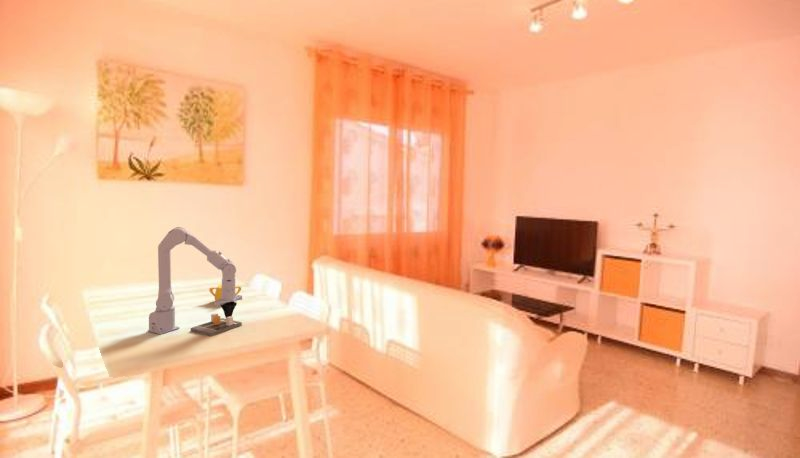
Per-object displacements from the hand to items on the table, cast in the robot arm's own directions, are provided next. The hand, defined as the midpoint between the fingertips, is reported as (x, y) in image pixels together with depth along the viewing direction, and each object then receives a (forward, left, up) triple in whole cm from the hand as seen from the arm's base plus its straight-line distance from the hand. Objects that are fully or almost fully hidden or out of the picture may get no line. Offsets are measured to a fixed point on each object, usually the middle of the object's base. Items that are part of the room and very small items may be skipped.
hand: (228, 318), depth 198 cm
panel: (-6, 0, -3) cm, 7 cm away
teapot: (+26, +29, -3) cm, 39 cm away
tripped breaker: (-6, 0, -1) cm, 7 cm away
